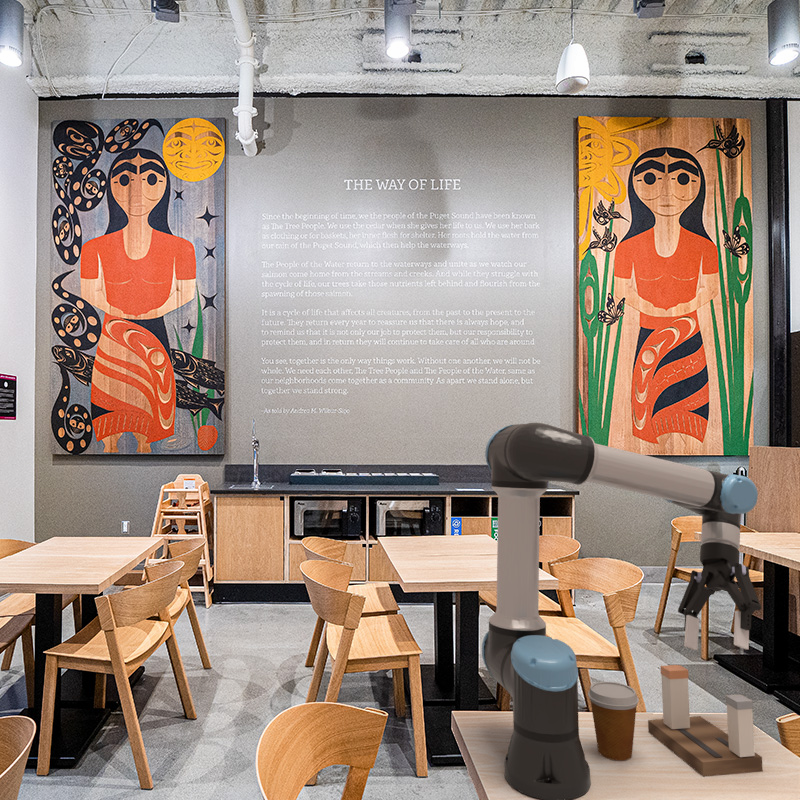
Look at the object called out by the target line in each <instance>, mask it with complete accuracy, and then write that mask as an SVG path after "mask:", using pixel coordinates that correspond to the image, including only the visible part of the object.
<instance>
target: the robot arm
mask: <svg viewBox="0 0 800 800" xmlns="http://www.w3.org/2000/svg"><path fill="white" fill-rule="evenodd" d="M484 457H485V462H486V465H487V467H488V468H489V471H491V473H490V474H491V475H490V476H491V477H490V478H491V480H490V484H491V485H490V486H491V487H490V488H491V489H492V490H493V491H494V493H496V494H497V497H498V499H497V503H498V504H497V552H496V553H497V554H496V555H497V558H496V559H497V560H496V610H495V612H494V613H493V614H492V615H491V616H490V617H489V619H488V631H487V632H486V633H485V634H484V637H483V640H482V644H481V657H482V661H483V664H484V665H485V667H486V670H487V671H488V673H489V674H490V676H491V677H492V678H493V679H494V680H495V681H496V682H497V683H498V684H499V685H501V686H502V688H504V689H505V691H506V692H507V693H508V694H509V695H510V696H511V697H512V718H513V722H512V724H513V725H512V726H513V729H512V734H511V737H510V741H509V745H508V749H507V753H506V755H505V758H504V778H505V780H506V782H507V783H508V784H509V785H510V786H511V787H512V788H513V789H515V790H517V791H519V792H520V793H522V794H524V795H527V796H530V797H533V798H536V799H541V800H572V799H576V798H579V797H581V796H583V795H585V794H586V793H587V792H588V791H589V790H590V787H591V769H590V765H589V763H588V761H587V760H586V756H585V753H584V752H585V750H584V747H583V744H582V742H581V738H580V735H579V734H580V728H579V727H580V726H579V690H578V687H579V686H578V683H579V681H578V678H579V668H578V665H577V663H578V662H577V656H576V654H575V651H574V650H573V649H572V648H571V646H570V645H569V644H567V643H566V642H565V641H562V640H560V639H558V638H555V639H554V638H552V637H551V636H547V623H546V621H545V620H544V619H543V618H542V617H541V616H540V615H539V603H540V602H539V601H540V600H539V599H540V598H539V593H540V591H539V586H540V584H539V583H540V578H539V577H540V575H539V574H540V514H541V513H540V511H541V510H540V508H541V506H540V503H541V502H540V500H541V499H540V498H541V496H542V495H543V494H545V493H546V492H547V490H548V482H557V483H567V484H573V485H578V486H582V485H584V484H585V483H586V482H587V483H592V484H598V485H601V486H605V487H610V488H614V489H619V490H623V491H624V490H625V491H628V492H633V493H638V494H642V495H646V496H650V497H656V498H661V499H663V500H664V501H666V502H667V503H671V504H673V505H676V506H679V507H680V508H683V509H686V510H689V511H691V512H693V513H695V514H698V515H700V516H702V517H701V520H702V521H701V522H702V523H701V533H700V543H701V545H700V549H699V561H700V563H701V564H702V567H703V568H702V570H701V571H696V570H692V571H691V572H690V579H689V582H688V584H687V586H686V589H685V592H684V593H683V597H682V599H681V601H680V604H679V607H678V609H677V613H679V614H681V615H683V616H684V627H683V628H684V643H683V646H684V647H685V648H688V649H691V650H693V651H698V650H699V649H698V645H699V635H700V634H699V631H700V618H699V617H698V616H699V614H700V612H701V611H702V609H703V608H704V606H705V605H706V604H707V601H708V600H709V599H710V597H711V596H712V595H714V594H715V593H716V592H717V593H718V592H721V591H726V592H727V594H728V595H729V597H730V598H731V599H732V601H733V602H734V605H736V607H735V609H736V610H735V611H734V627H733V629H734V630H733V631H734V632H733V645H734V646H736V647H738V648H741V649H743V650H750V649H749V646H750V645H749V644H750V643H749V642H750V631H751V629H752V614H754V612H755V611H760V610H762V605H761V603H760V600H759V598H758V596H757V592H756V590H755V588H754V585H753V582H752V580H751V577H750V568H749V567H748V566H747V565H744V564H742V563H740V554H741V553H740V550H739V549H740V546H741V521H742V515H744V514H748V513H749V512H750V511H752V510H753V509H754V508H755V507H756V505H757V504H758V500H759V499H758V495H759V493H758V488H757V486H756V484H755V483H754V482H753V481H752V479H750V478H749V477H747V476H745V475H738V474H733V473H731V474H726V473H721V472H717V471H713V470H707V469H704V468H700V467H696V466H691V465H688V464H684V463H679V462H674V461H671V460H667V459H662V458H658V457H654V456H651V455H646V454H643V453H642V454H641V453H637V452H633V451H628V450H624V449H621V448H616V447H612V446H608V445H603V444H599V443H595V441H594V439H593V437H591V436H589V435H584V434H581V433H577V432H575V431H574V432H573V431H570V430H566V429H564V428H561V427H557V426H554V425H550V424H547V423H542V422H528V423H521V424H519V423H517V424H510V425H507V426H506V425H505V426H504V427H502V428H500V429H498V430H497V431H495V432H494V433H492V435H490V438H489V439H488V441H487V444H486V447H485V452H484ZM735 579H736V580H735Z"/></svg>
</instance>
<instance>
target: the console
mask: <svg viewBox="0 0 800 800" xmlns="http://www.w3.org/2000/svg"><path fill="white" fill-rule="evenodd" d="M647 724H648V725H647V726H648V733H649V734H650V735H651V736H652V735H653V736H652V737H654V739H656V740H657V741H658V742H660V743H661V744H662V745H664V747H666V748H667V749H668V750H670V751H671V752H672V753H673V754H674V755H676V756H677V757H678V758H680V759H681V760H682V761H683V762H685V764H687V765H688V766H689V767H691V768H692V769H693V770H694V771H695V772H697V773H698V774H699V775H701V776H702V777H714V776H723V775H725V776H727V775H734V774H735V775H736V774H745V773H747V774H748V773H757V772H764V771H763V756H761V755H760V754H758V753H757V752H755V756H748V757H739V756H738V755H736V754H735V753H733V752H732V751H730V750H729V740H728V733H726V732H725V731H723V730H722V729H720V727H719V728H718V727H717V726H716V725H714V724H713V723H711V722H710V721H708V720H706V719H705V718H704V717H702V716H700V715H697V716H690V728H682V729H671V728H670V727H668V726H667V725H666V724H664V723H663V718H657V719H648V720H647Z"/></svg>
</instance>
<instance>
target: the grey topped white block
mask: <svg viewBox="0 0 800 800" xmlns="http://www.w3.org/2000/svg"><path fill="white" fill-rule="evenodd" d="M725 704H726V715H727V717H726V718H727V734H728V740H729V750H730V751H732V752H733V753H735V754H736V755H738V756H739V757H748V756H755V753H756V752H755V750H756V749H755V735H754V732H755V731H754V716H753V709H754V700H752V699H750V698H748V697H746V696H745V695H742V694H728V695H727V694H726V695H725Z"/></svg>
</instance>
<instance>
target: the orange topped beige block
mask: <svg viewBox="0 0 800 800" xmlns="http://www.w3.org/2000/svg"><path fill="white" fill-rule="evenodd" d="M660 674H661V691H662V692H661V693H662V697H661V698H662V719H663V723H664V724H666V725H667V726H668V727H670V728H671V729H682V728H690V717H691V716H690V715H691V714H690V699H689V697H690V694H689V677H690V676H689V670H688V669H687V668H685V667H684V666H682V665H680V664H669V665H660Z"/></svg>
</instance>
